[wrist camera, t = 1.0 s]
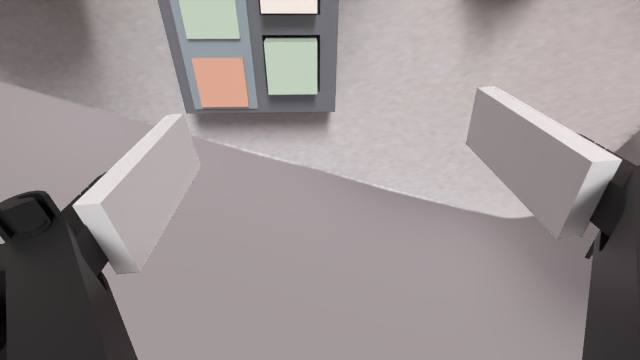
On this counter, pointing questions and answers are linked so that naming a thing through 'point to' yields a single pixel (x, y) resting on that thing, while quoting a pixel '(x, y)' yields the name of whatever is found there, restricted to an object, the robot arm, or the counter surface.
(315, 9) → the key cream
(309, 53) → the key sage
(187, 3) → the keypad
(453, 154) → the counter surface
